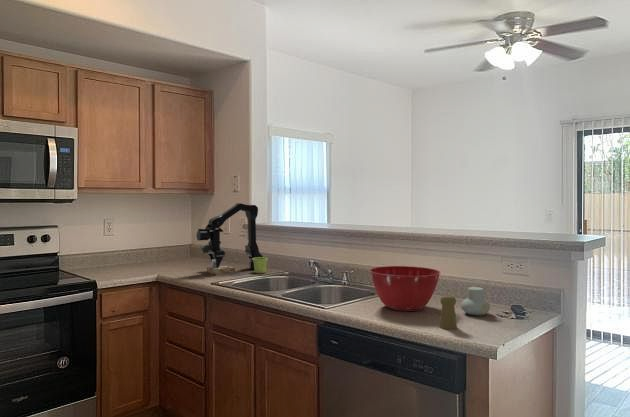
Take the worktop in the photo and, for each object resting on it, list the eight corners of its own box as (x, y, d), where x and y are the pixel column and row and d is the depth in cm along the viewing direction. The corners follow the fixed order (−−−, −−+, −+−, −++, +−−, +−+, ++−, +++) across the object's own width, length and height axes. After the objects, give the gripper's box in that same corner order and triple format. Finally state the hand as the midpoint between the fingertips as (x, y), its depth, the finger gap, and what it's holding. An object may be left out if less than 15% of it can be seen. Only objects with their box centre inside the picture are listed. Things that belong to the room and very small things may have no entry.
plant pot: (271, 272, 290) (271, 258, 289) (261, 274, 282) (261, 259, 281) (259, 271, 295) (259, 256, 294) (248, 273, 287) (248, 258, 286)
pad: (242, 272, 290) (242, 271, 290) (248, 274, 282) (248, 273, 282) (228, 273, 285) (228, 272, 285) (233, 276, 278) (233, 275, 278)
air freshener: (473, 309, 197) (473, 285, 197) (492, 313, 191) (492, 288, 191) (458, 314, 190) (458, 288, 190) (478, 318, 184) (478, 291, 184)
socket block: (229, 270, 297) (229, 265, 297) (235, 273, 288) (235, 267, 288) (206, 272, 290) (206, 266, 290) (211, 274, 281) (211, 269, 281)
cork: (453, 324, 175) (454, 293, 175) (459, 329, 169) (459, 297, 168) (437, 324, 175) (437, 294, 174) (441, 329, 169) (442, 297, 168)
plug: (217, 272, 290) (217, 259, 290) (219, 273, 287) (218, 259, 286) (211, 273, 288) (211, 259, 288) (213, 273, 285) (212, 260, 285)
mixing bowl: (385, 297, 221) (385, 263, 220) (448, 304, 206) (449, 268, 206) (358, 310, 197) (358, 271, 196) (427, 319, 182) (427, 278, 181)
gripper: (196, 239, 291) (197, 265, 292) (205, 241, 275) (206, 269, 275) (215, 238, 296) (215, 264, 297) (225, 240, 280) (225, 268, 281)
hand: (215, 266), depth 287 cm, fingers open, 9 cm apart
